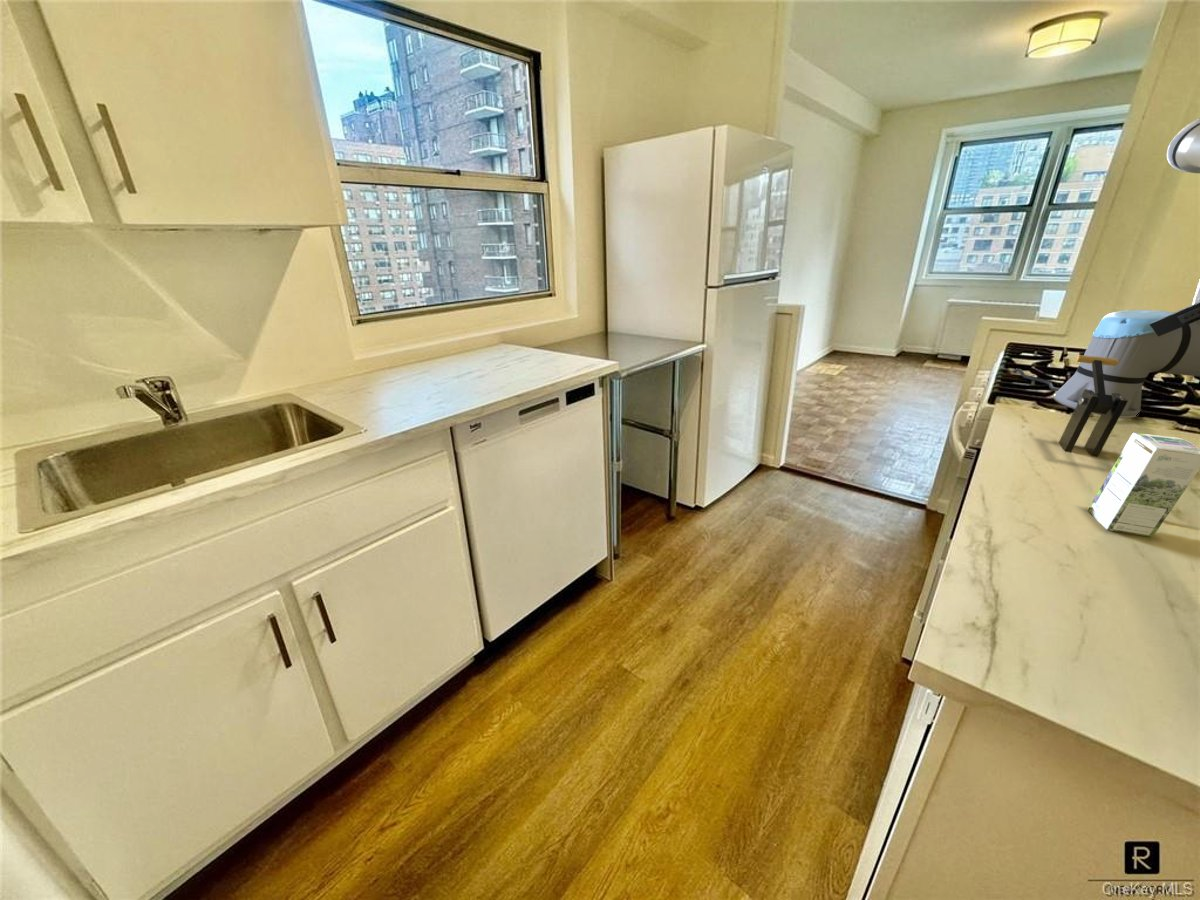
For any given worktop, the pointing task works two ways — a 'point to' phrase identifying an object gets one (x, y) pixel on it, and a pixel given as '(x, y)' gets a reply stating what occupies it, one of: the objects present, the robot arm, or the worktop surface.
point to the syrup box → (1145, 483)
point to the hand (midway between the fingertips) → (1154, 329)
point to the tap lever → (1099, 381)
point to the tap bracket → (1101, 427)
